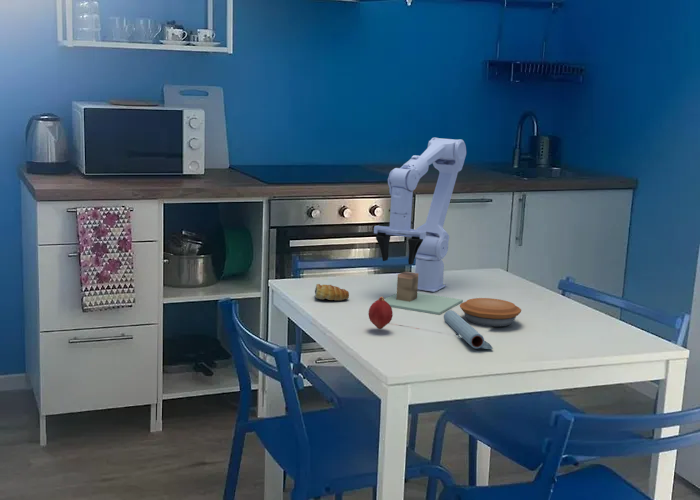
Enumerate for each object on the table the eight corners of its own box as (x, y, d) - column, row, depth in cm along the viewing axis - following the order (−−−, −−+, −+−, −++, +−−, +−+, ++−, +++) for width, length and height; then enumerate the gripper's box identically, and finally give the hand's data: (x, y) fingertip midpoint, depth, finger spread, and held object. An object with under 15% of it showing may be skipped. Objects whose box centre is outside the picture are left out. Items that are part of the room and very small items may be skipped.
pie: (522, 317, 231) (523, 298, 230) (517, 331, 216) (519, 311, 215) (463, 310, 235) (464, 292, 234) (454, 324, 220) (456, 305, 219)
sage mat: (402, 292, 253) (403, 290, 252) (462, 301, 245) (463, 299, 245) (376, 304, 237) (376, 302, 236) (439, 314, 229) (439, 312, 229)
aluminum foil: (443, 323, 223) (443, 309, 222) (468, 323, 224) (469, 310, 223) (469, 348, 201) (470, 334, 200) (497, 348, 202) (498, 334, 201)
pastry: (347, 297, 243) (348, 283, 243) (350, 302, 236) (351, 288, 236) (313, 295, 242) (314, 281, 241) (315, 300, 235) (315, 286, 235)
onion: (364, 326, 214) (365, 293, 213) (385, 325, 216) (387, 293, 215) (373, 332, 209) (374, 299, 207) (395, 331, 211) (397, 298, 209)
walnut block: (403, 296, 245) (405, 271, 244) (416, 298, 244) (418, 273, 242) (396, 299, 241) (397, 274, 240) (409, 301, 239) (411, 276, 238)
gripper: (370, 211, 239) (367, 261, 241) (420, 217, 233) (417, 267, 235) (380, 209, 245) (378, 257, 248) (430, 214, 239) (426, 263, 242)
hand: (397, 262), depth 242 cm, fingers open, 7 cm apart
